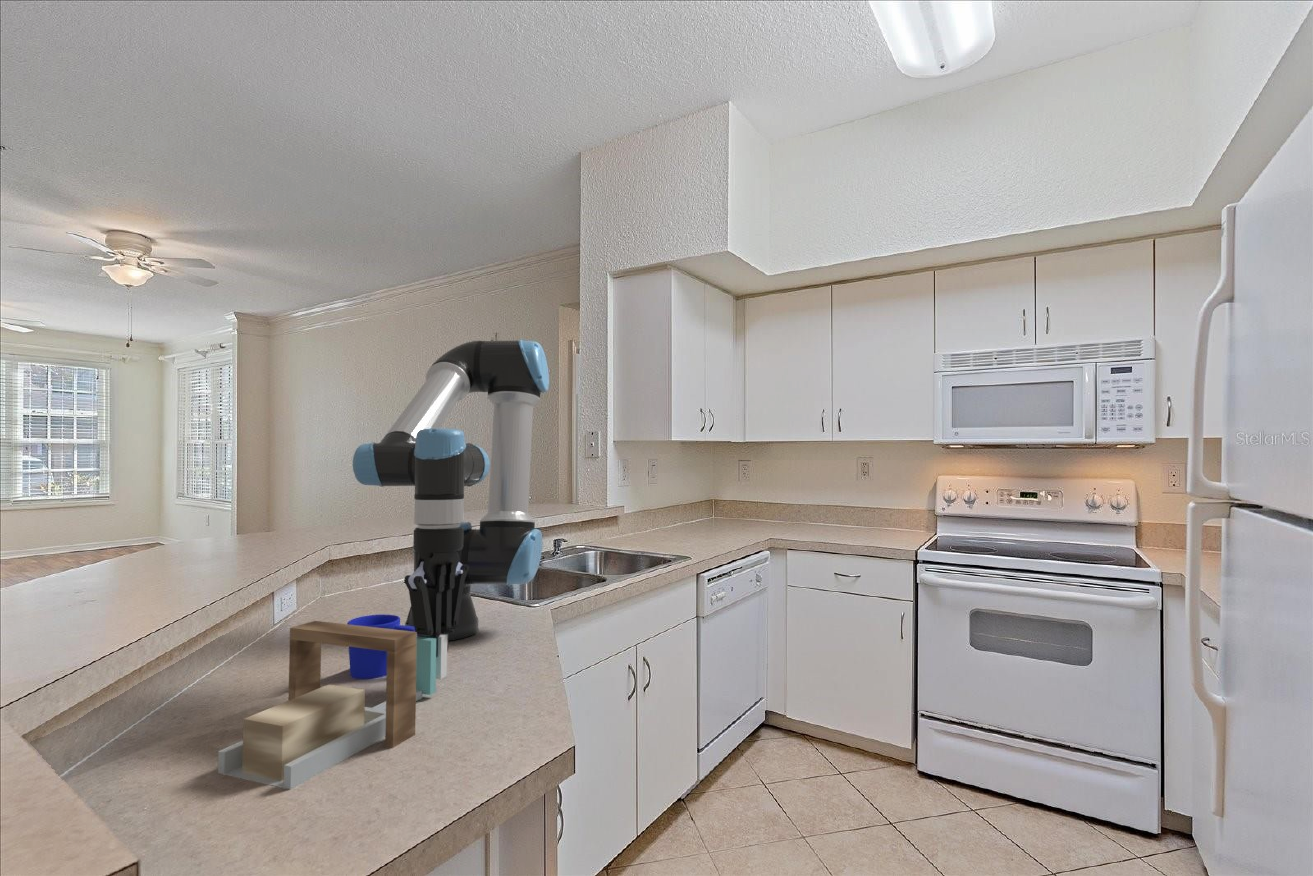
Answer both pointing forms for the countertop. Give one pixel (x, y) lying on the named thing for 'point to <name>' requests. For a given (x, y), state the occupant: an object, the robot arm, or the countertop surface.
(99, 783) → the countertop surface
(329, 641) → the tunnel
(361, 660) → the mug
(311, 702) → the bar
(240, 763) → the sled
